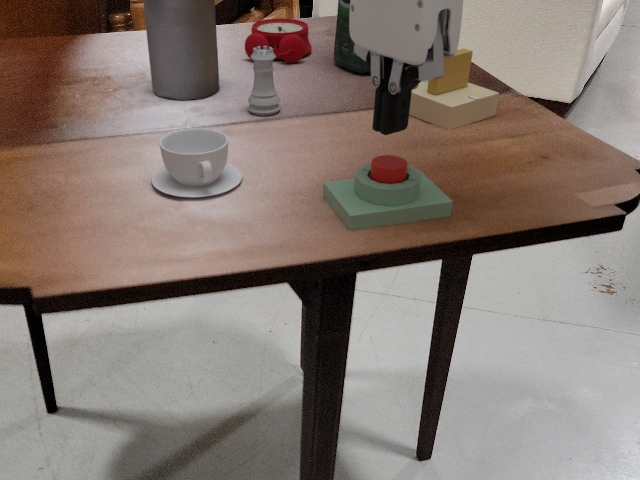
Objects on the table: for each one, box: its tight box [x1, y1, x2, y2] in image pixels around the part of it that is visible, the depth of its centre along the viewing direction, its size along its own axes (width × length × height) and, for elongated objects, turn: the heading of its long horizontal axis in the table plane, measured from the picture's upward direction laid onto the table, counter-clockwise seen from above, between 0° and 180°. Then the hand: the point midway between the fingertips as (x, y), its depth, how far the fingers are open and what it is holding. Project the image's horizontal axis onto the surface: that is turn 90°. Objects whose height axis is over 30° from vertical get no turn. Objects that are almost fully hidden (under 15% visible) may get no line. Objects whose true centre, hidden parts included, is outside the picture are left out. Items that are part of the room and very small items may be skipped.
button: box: [370, 154, 409, 184], centre depth 74 cm, size 4×4×2 cm
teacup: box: [151, 127, 243, 198], centre depth 80 cm, size 10×10×5 cm
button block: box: [322, 163, 454, 232], centre depth 75 cm, size 11×8×4 cm
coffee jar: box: [333, 0, 371, 73], centre depth 109 cm, size 10×8×19 cm
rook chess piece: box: [247, 46, 281, 117], centre depth 96 cm, size 4×4×8 cm
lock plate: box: [409, 81, 500, 131], centre depth 97 cm, size 10×9×3 cm
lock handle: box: [427, 48, 473, 95], centre depth 95 cm, size 6×2×5 cm, turn 126°
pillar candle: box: [142, 0, 220, 101], centre depth 101 cm, size 10×10×15 cm
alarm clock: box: [244, 18, 313, 64], centre depth 118 cm, size 10×6×15 cm
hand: (389, 129), depth 71 cm, fingers closed
